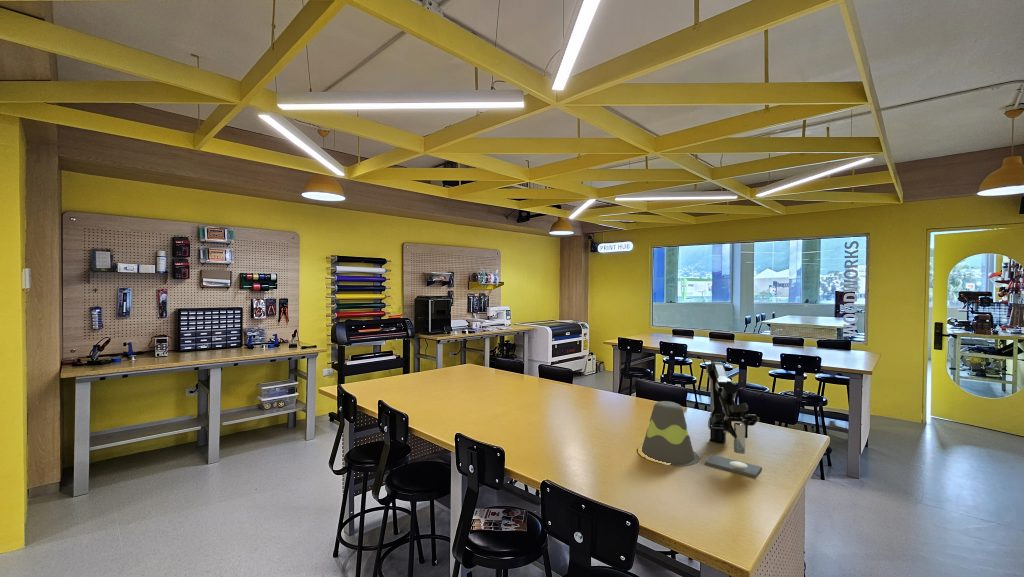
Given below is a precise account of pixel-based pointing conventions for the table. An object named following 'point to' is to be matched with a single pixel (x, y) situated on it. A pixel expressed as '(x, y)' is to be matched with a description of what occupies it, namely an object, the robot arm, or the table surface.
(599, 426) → the table surface
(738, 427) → the metal pin
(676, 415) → the grey tapered cylinder
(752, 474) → the mat
